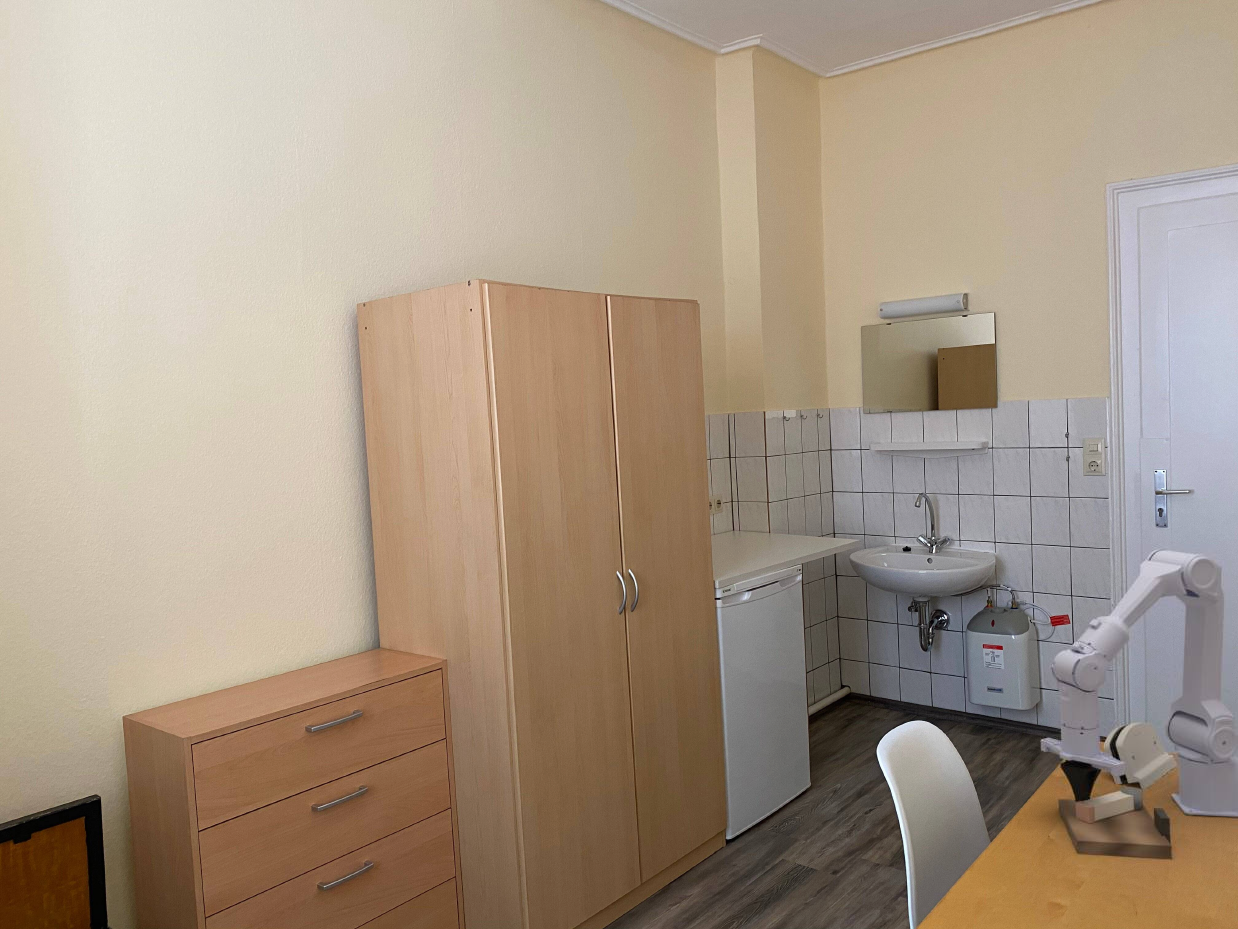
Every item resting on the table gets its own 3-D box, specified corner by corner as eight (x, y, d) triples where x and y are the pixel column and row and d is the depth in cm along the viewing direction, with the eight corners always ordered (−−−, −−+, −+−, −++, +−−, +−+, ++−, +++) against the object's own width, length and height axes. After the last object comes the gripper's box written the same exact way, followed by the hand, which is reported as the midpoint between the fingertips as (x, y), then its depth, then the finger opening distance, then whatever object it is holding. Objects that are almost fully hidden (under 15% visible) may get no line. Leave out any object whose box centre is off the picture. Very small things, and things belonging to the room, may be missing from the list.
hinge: (1144, 790, 166) (1121, 734, 168) (1118, 793, 169) (1096, 738, 172) (1178, 764, 177) (1156, 712, 179) (1153, 767, 180) (1132, 716, 182)
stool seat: (1147, 815, 156) (1146, 786, 156) (1177, 859, 140) (1176, 828, 140) (1058, 810, 160) (1057, 783, 159) (1077, 853, 144) (1076, 823, 144)
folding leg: (1130, 801, 157) (1129, 785, 157) (1147, 807, 154) (1146, 791, 154) (1074, 817, 152) (1074, 801, 152) (1091, 824, 149) (1090, 807, 149)
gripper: (1026, 717, 157) (1029, 796, 158) (1101, 740, 144) (1105, 826, 145) (1056, 710, 160) (1059, 787, 161) (1132, 732, 147) (1136, 817, 147)
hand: (1083, 805), depth 153 cm, fingers closed
